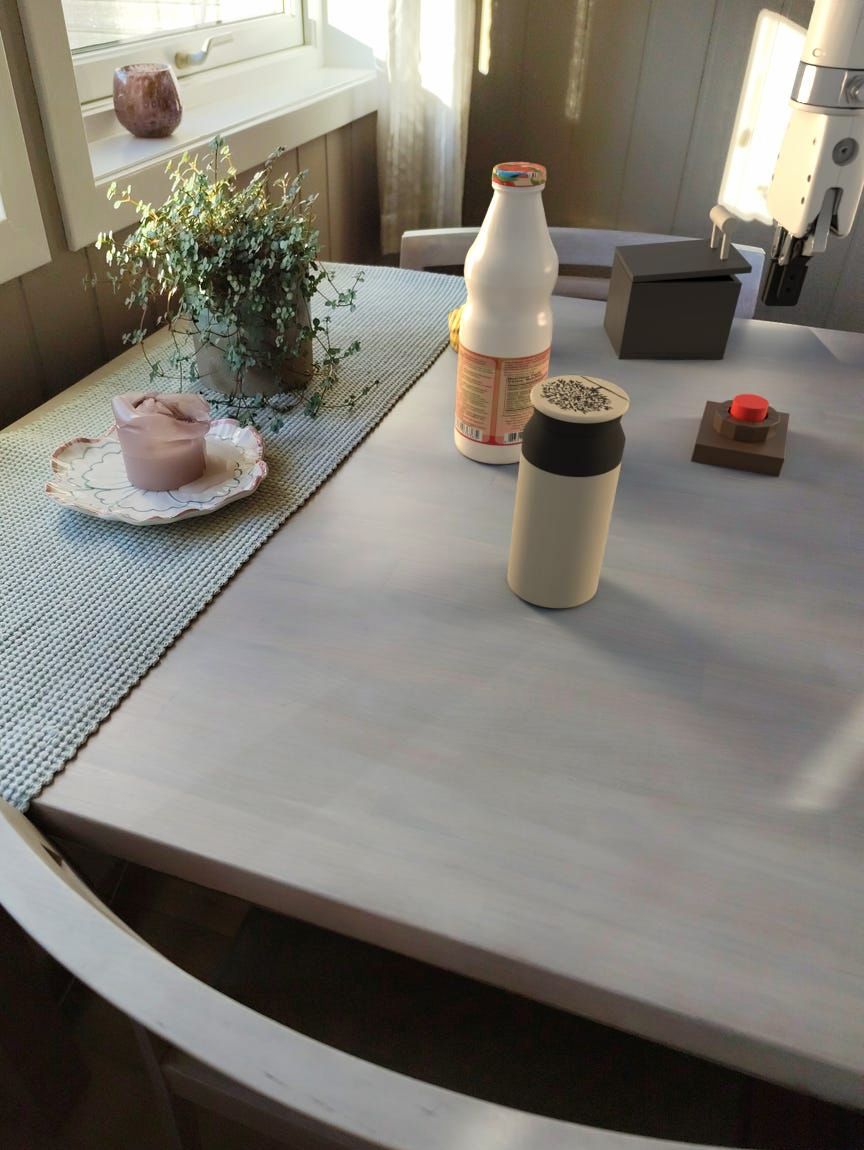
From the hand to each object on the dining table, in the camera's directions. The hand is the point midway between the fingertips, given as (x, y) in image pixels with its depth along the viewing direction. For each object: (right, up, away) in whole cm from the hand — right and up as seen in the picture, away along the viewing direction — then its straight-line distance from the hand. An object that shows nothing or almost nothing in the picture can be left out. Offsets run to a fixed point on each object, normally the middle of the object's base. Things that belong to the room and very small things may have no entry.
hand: (777, 302), depth 89 cm
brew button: (0, -9, +8) cm, 12 cm away
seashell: (-26, +6, +31) cm, 41 cm away
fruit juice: (-27, -12, +11) cm, 31 cm away
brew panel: (0, -12, +10) cm, 16 cm away
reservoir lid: (-1, +15, +26) cm, 30 cm away
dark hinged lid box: (-2, +7, +32) cm, 33 cm away
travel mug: (-24, -29, -9) cm, 38 cm away
